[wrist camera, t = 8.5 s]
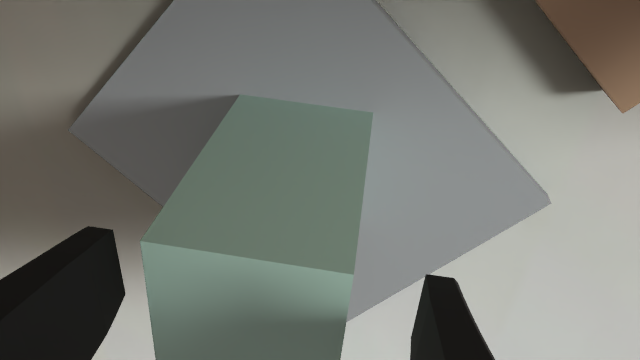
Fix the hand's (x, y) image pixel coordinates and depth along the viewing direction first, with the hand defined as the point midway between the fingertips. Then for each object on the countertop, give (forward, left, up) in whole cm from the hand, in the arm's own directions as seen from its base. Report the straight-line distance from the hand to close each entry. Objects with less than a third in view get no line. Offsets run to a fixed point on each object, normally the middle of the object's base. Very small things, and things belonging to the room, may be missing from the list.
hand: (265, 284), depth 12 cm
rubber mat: (0, 0, -6) cm, 6 cm away
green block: (0, 0, -5) cm, 5 cm away
